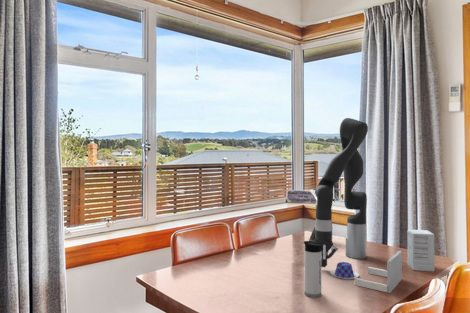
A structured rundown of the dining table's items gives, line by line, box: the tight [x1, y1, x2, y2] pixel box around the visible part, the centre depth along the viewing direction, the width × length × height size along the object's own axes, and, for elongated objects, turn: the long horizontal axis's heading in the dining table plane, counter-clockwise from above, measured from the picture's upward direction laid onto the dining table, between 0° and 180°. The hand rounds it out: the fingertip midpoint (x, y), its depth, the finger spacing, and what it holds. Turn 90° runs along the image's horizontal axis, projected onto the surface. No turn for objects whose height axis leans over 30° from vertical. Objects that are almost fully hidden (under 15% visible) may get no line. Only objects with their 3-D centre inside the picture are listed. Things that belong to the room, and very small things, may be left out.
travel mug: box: [303, 240, 322, 298], centre depth 134 cm, size 6×7×20 cm
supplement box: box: [406, 229, 435, 272], centre depth 164 cm, size 10×9×17 cm
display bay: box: [354, 250, 403, 294], centre depth 146 cm, size 14×18×12 cm
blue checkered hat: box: [329, 261, 360, 280], centre depth 155 cm, size 12×12×5 cm
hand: (323, 266), depth 161 cm, fingers closed
